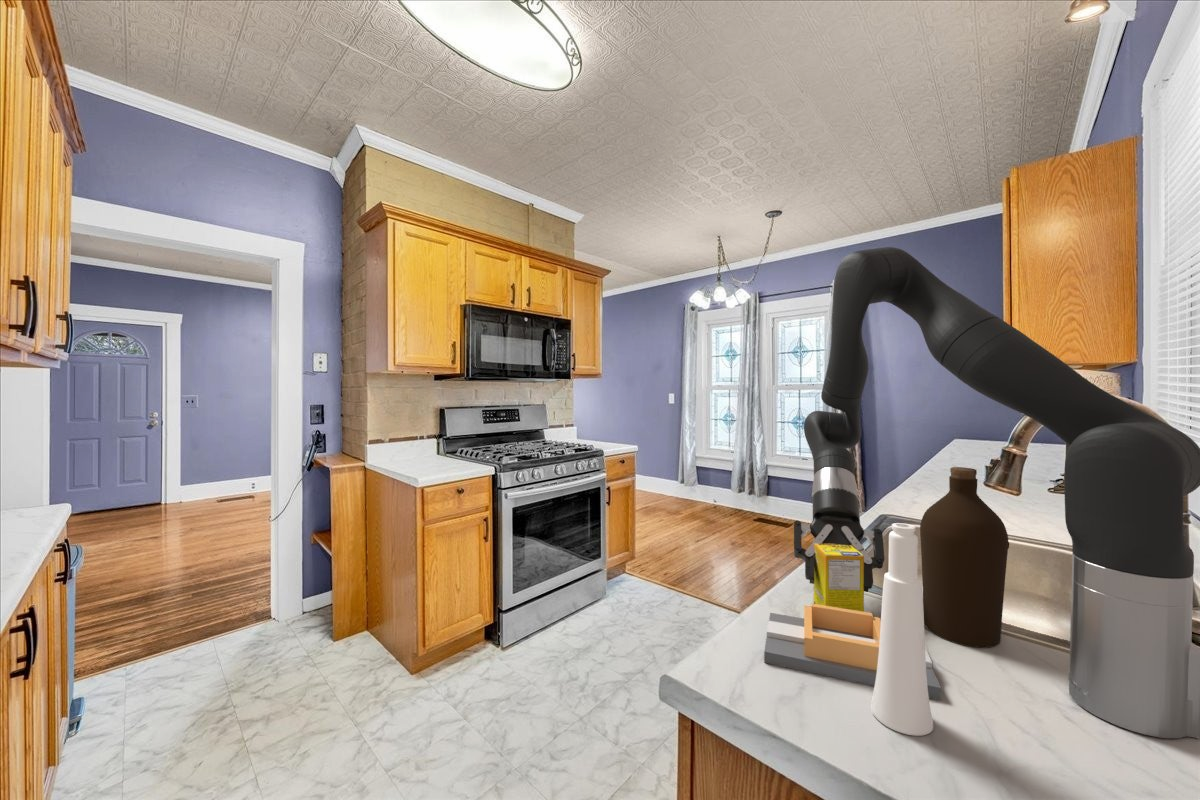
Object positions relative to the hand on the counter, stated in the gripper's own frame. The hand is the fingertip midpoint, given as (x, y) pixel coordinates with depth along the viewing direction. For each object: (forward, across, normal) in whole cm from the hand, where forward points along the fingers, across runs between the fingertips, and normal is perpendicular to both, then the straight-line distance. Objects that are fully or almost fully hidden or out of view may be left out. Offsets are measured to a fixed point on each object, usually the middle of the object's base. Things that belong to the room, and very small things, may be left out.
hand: (838, 585), depth 77 cm
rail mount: (+12, 0, -4) cm, 13 cm away
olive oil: (+2, +17, +6) cm, 18 cm away
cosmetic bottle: (+20, +5, -12) cm, 24 cm away
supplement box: (+3, 0, +5) cm, 6 cm away
